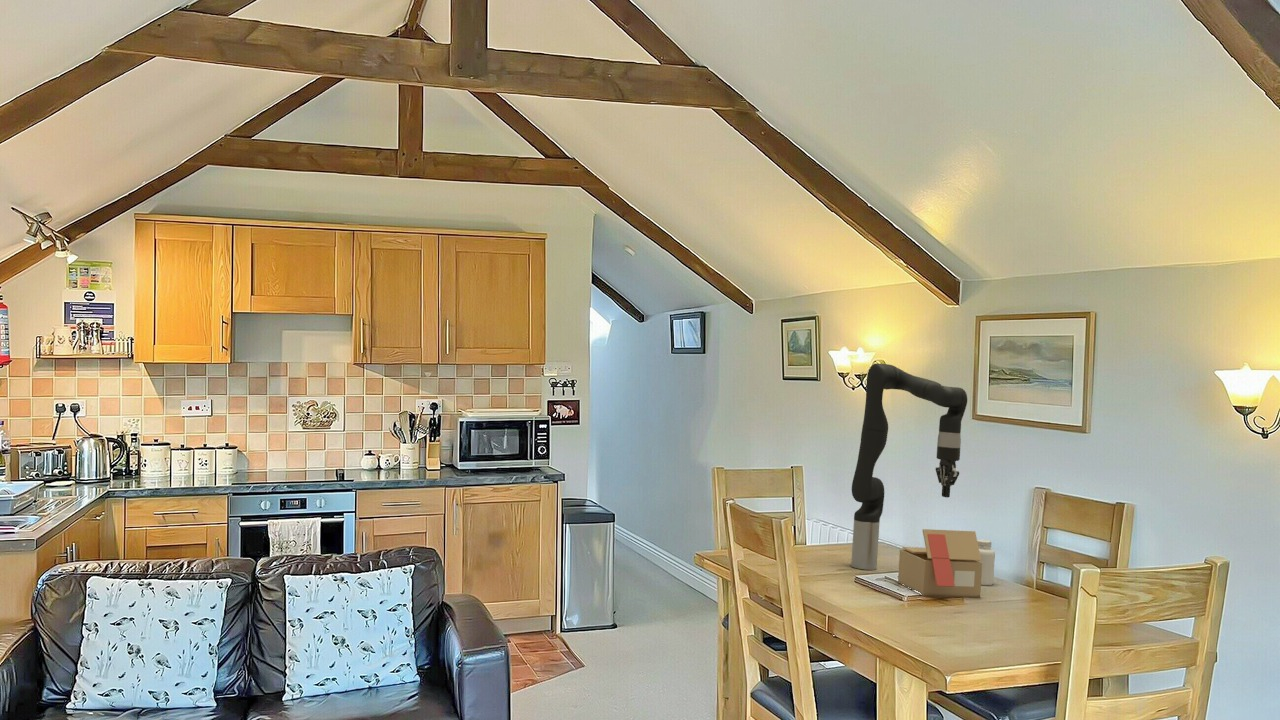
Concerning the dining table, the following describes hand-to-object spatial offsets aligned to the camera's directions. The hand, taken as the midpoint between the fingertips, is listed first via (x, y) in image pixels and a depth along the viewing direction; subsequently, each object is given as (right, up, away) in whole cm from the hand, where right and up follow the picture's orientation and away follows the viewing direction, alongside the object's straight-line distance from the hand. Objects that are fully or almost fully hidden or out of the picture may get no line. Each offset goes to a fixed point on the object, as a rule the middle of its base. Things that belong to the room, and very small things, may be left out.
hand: (945, 496), depth 328 cm
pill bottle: (+17, -33, +14) cm, 39 cm away
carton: (-4, -31, -3) cm, 31 cm away
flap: (-1, -19, -13) cm, 23 cm away
